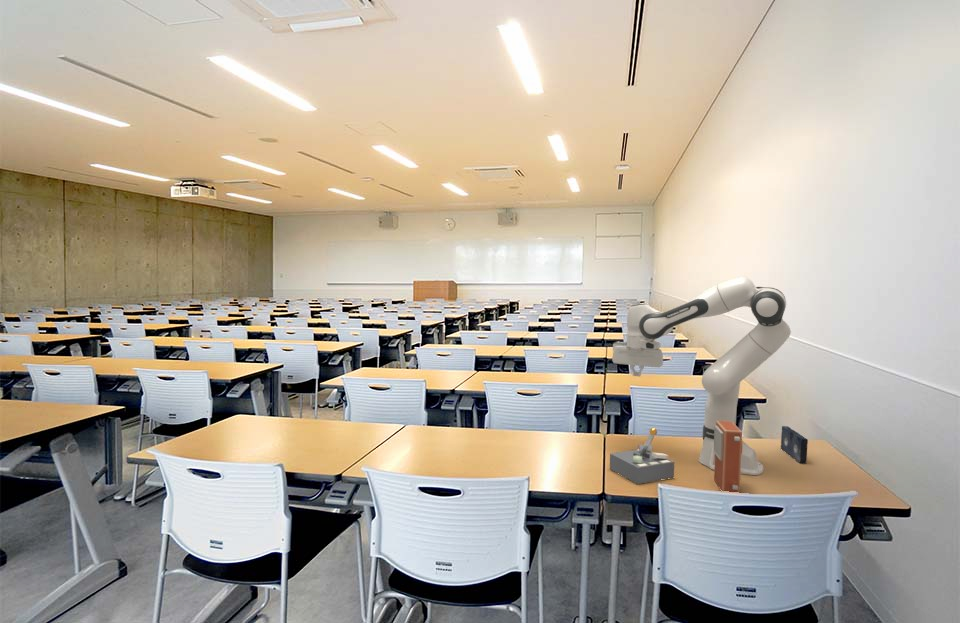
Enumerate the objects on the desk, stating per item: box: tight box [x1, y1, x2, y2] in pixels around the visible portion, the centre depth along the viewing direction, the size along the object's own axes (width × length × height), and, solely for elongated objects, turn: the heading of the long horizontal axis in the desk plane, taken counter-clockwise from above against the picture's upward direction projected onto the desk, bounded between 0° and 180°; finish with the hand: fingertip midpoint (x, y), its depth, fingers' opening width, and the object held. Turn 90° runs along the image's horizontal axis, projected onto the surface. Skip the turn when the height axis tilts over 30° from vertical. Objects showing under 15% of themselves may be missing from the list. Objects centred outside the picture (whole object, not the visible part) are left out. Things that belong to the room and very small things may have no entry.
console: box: [609, 448, 675, 485], centre depth 195 cm, size 16×16×8 cm
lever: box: [640, 427, 658, 456], centre depth 191 cm, size 3×3×13 cm
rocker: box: [652, 452, 669, 459], centre depth 193 cm, size 3×5×1 cm, turn 112°
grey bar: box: [637, 443, 654, 452], centre depth 201 cm, size 1×6×2 cm, turn 112°
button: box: [633, 455, 642, 464], centre depth 189 cm, size 3×3×2 cm
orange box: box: [713, 421, 743, 492], centre depth 183 cm, size 21×7×15 cm
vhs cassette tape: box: [780, 425, 809, 465], centre depth 215 cm, size 18×3×10 cm, turn 170°
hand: (636, 376), depth 220 cm, fingers closed
